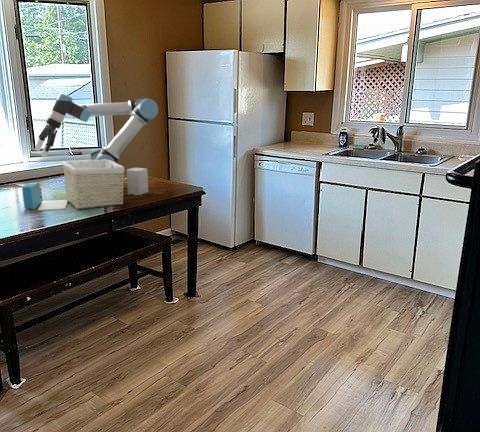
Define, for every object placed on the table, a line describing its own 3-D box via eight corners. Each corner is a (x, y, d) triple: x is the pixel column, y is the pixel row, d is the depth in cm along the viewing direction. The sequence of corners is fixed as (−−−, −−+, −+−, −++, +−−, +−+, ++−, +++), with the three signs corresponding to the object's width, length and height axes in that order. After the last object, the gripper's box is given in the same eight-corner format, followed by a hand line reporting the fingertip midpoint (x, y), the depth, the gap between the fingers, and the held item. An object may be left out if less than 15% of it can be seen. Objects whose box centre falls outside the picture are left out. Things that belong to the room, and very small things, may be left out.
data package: (33, 203, 238) (30, 182, 235) (41, 203, 239) (39, 182, 235) (24, 209, 227) (21, 187, 223) (33, 209, 227) (31, 187, 224)
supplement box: (149, 193, 266) (148, 168, 262) (139, 196, 258) (138, 170, 254) (136, 191, 269) (135, 167, 265) (127, 194, 262) (125, 169, 257)
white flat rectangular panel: (68, 200, 245) (68, 199, 245) (65, 209, 229) (65, 208, 229) (43, 202, 242) (42, 200, 242) (38, 210, 225) (37, 209, 225)
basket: (111, 194, 261) (109, 157, 254) (127, 204, 239) (126, 165, 233) (63, 199, 246) (60, 160, 240) (76, 210, 225) (73, 168, 219)
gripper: (42, 112, 258) (28, 145, 259) (55, 121, 240) (39, 156, 241) (55, 118, 263) (40, 150, 265) (68, 126, 245) (52, 161, 247)
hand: (40, 153), depth 253 cm, fingers open, 13 cm apart
